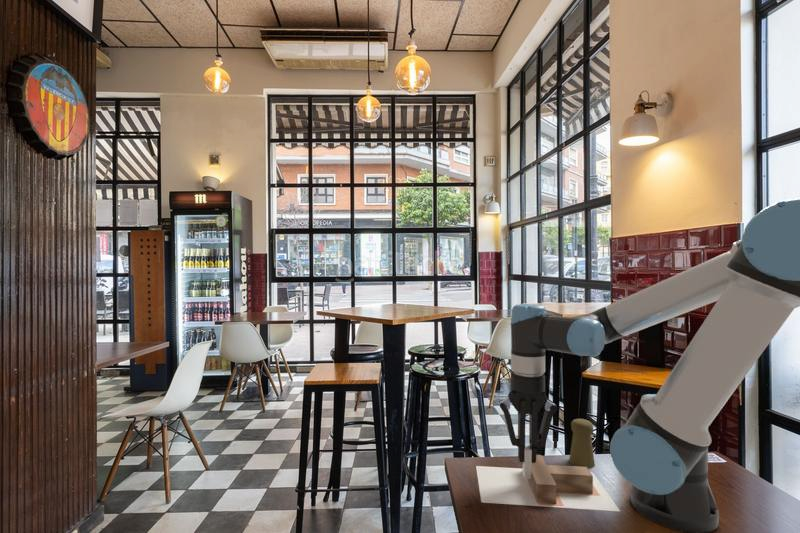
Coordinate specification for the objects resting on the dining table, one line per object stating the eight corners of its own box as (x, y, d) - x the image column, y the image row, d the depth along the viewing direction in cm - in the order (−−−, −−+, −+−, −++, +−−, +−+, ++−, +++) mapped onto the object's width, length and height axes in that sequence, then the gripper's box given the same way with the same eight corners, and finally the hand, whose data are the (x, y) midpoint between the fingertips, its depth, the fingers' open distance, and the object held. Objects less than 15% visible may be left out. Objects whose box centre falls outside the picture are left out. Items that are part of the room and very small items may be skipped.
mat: (592, 473, 101) (592, 472, 101) (620, 512, 85) (620, 511, 85) (475, 466, 104) (475, 465, 104) (481, 503, 88) (481, 502, 88)
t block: (579, 473, 100) (579, 456, 100) (601, 507, 86) (601, 487, 86) (524, 470, 102) (524, 454, 102) (536, 502, 88) (536, 483, 88)
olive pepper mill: (597, 470, 102) (598, 425, 102) (571, 467, 103) (571, 423, 103) (591, 459, 108) (591, 417, 108) (567, 456, 109) (567, 415, 109)
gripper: (553, 369, 98) (552, 469, 98) (496, 367, 99) (495, 466, 99) (561, 378, 90) (561, 486, 90) (500, 375, 92) (500, 482, 92)
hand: (526, 475), depth 95 cm, fingers closed
